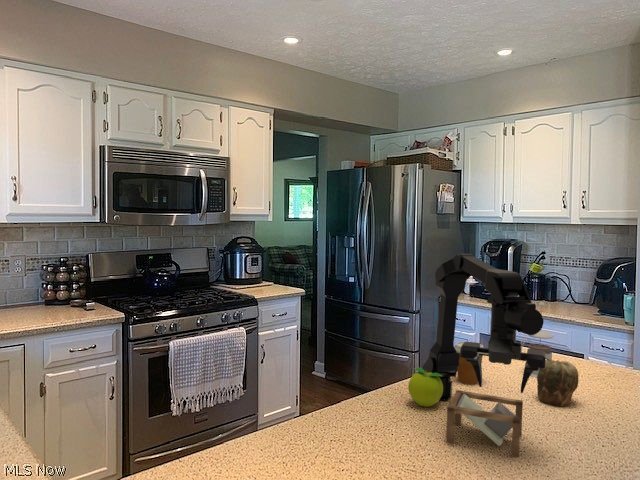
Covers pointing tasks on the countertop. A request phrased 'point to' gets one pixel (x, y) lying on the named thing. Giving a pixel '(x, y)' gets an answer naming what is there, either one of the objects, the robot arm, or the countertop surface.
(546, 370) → the shell
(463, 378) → the disposable coffee cup
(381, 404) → the countertop surface
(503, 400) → the frame
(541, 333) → the french press
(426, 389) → the fruit
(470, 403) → the trapdoor
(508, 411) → the gray cube
